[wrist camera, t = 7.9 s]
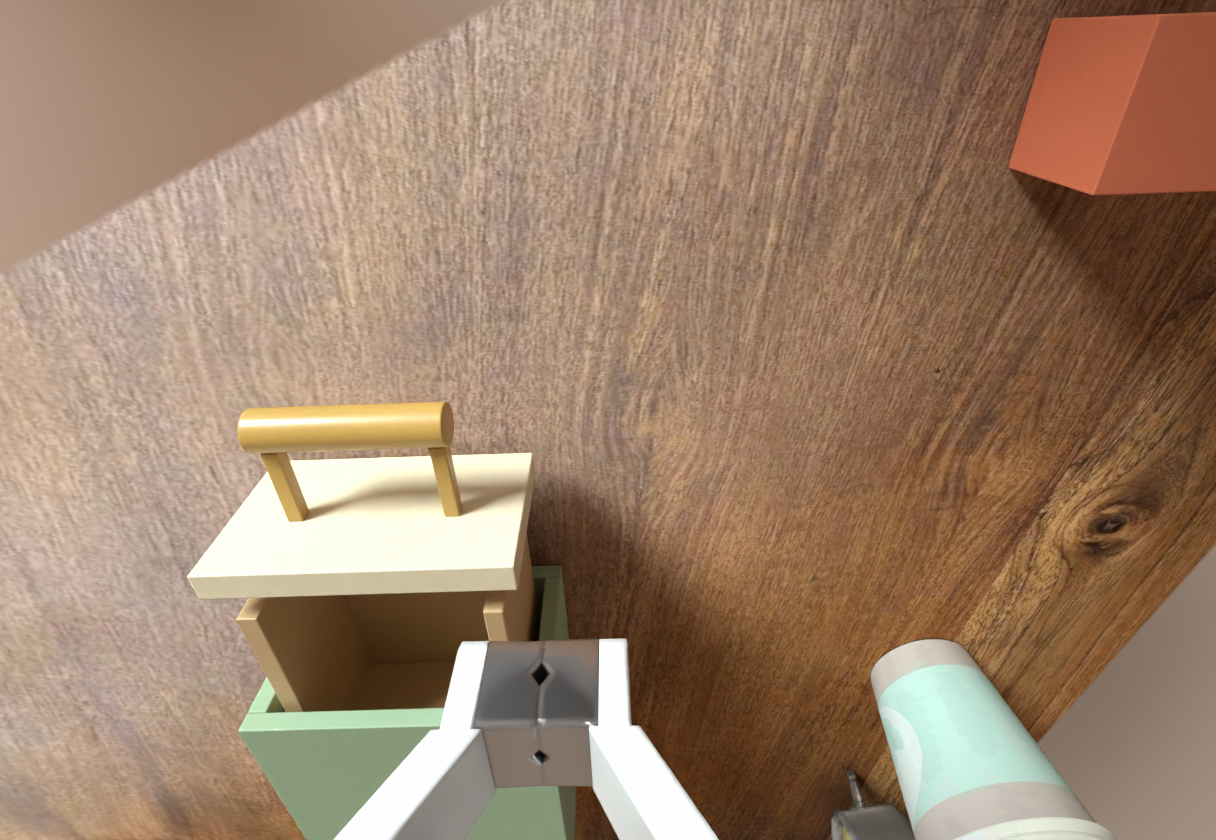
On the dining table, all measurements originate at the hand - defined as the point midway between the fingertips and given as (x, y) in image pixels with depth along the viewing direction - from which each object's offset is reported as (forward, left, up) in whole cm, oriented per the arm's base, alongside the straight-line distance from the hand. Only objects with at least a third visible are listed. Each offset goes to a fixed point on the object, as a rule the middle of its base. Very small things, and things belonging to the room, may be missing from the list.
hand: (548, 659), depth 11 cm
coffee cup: (+30, +4, -16) cm, 34 cm away
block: (+3, +19, -16) cm, 25 cm away
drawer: (+5, -12, -15) cm, 20 cm away
